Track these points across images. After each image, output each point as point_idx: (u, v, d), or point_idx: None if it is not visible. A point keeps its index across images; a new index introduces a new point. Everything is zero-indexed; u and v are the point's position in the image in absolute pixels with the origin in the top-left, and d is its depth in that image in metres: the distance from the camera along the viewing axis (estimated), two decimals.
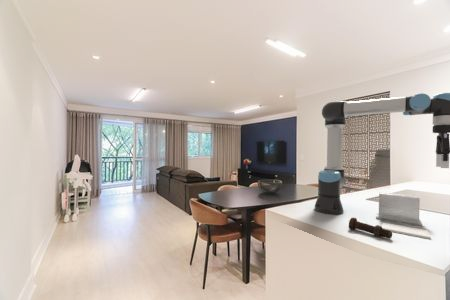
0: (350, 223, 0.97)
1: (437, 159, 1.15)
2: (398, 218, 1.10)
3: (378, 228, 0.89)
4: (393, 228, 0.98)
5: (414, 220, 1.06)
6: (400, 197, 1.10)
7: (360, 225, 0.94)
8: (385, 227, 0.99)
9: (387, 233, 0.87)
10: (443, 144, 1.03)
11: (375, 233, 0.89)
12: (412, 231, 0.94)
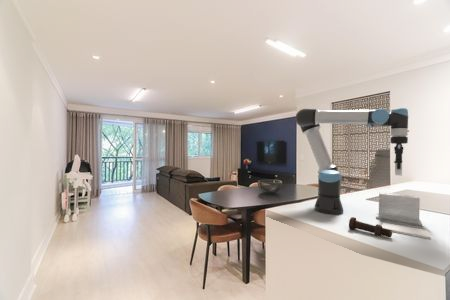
0: (350, 223, 0.97)
1: None
2: (398, 218, 1.10)
3: (379, 227, 0.90)
4: (393, 228, 0.98)
5: (414, 220, 1.06)
6: (400, 197, 1.10)
7: (360, 224, 0.95)
8: (385, 227, 0.99)
9: (388, 232, 0.88)
10: (397, 154, 1.16)
11: (376, 232, 0.90)
12: (412, 231, 0.94)
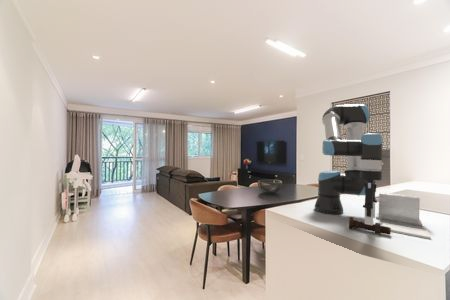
0: (350, 223, 0.97)
1: None
2: (398, 218, 1.10)
3: (379, 225, 0.92)
4: (393, 228, 0.98)
5: (414, 220, 1.06)
6: (400, 197, 1.10)
7: (360, 223, 0.96)
8: None
9: (388, 230, 0.91)
10: (366, 196, 0.86)
11: (376, 231, 0.92)
12: (412, 231, 0.94)
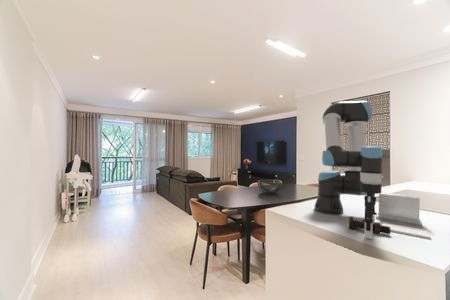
0: (351, 223, 0.97)
1: None
2: (398, 218, 1.10)
3: (379, 225, 0.93)
4: (393, 228, 0.98)
5: (414, 220, 1.06)
6: (400, 197, 1.10)
7: (360, 223, 0.96)
8: None
9: (388, 229, 0.91)
10: (365, 210, 0.86)
11: (376, 230, 0.92)
12: (412, 231, 0.94)
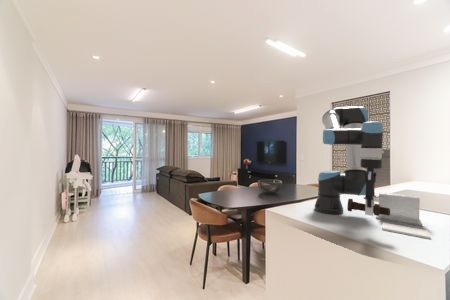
0: (349, 204, 0.95)
1: None
2: (398, 218, 1.10)
3: (378, 206, 0.90)
4: (393, 228, 0.98)
5: (414, 220, 1.06)
6: (400, 197, 1.10)
7: (359, 205, 0.94)
8: (385, 227, 0.99)
9: (387, 210, 0.88)
10: (366, 188, 0.88)
11: (375, 211, 0.90)
12: (412, 231, 0.94)
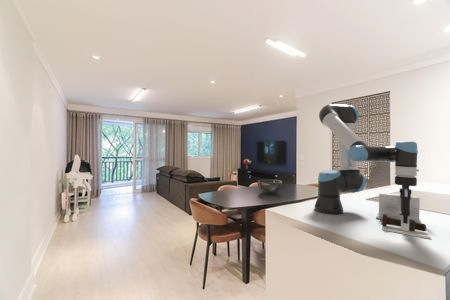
0: (384, 219, 0.99)
1: None
2: (398, 218, 1.10)
3: (414, 222, 0.94)
4: (393, 228, 0.98)
5: (414, 220, 1.06)
6: None
7: (394, 220, 0.98)
8: (385, 227, 0.99)
9: (423, 226, 0.93)
10: (403, 205, 0.93)
11: (411, 227, 0.94)
12: (412, 231, 0.94)
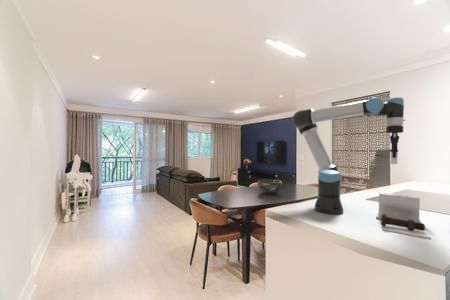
0: (383, 219, 0.99)
1: None
2: (398, 218, 1.10)
3: (413, 222, 0.95)
4: (393, 228, 0.98)
5: (414, 220, 1.06)
6: (400, 197, 1.10)
7: (393, 220, 0.98)
8: (385, 227, 0.99)
9: (422, 226, 0.93)
10: (392, 143, 1.16)
11: (410, 227, 0.95)
12: (412, 231, 0.94)
